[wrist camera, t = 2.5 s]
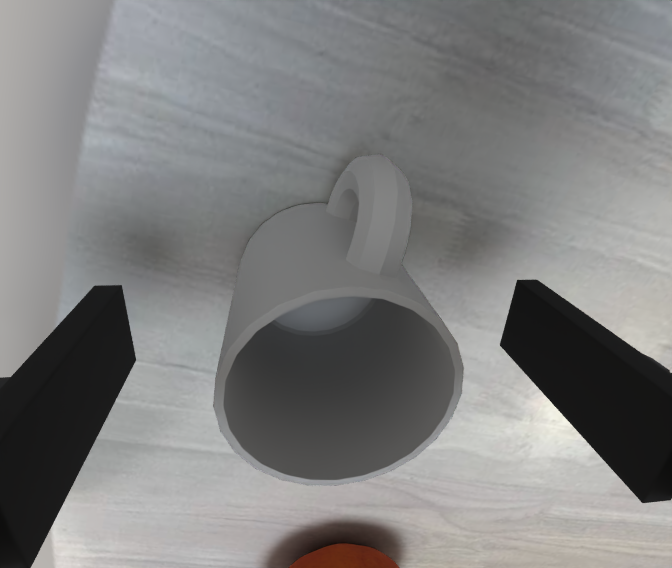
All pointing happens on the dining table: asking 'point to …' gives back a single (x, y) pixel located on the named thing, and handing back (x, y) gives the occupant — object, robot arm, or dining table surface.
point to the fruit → (345, 558)
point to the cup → (335, 340)
